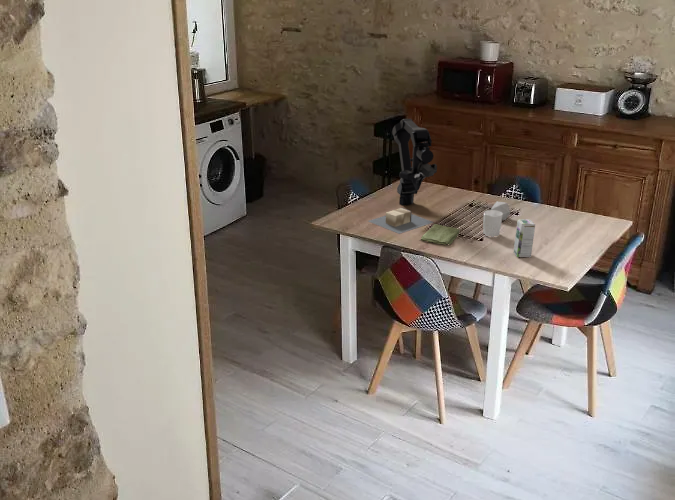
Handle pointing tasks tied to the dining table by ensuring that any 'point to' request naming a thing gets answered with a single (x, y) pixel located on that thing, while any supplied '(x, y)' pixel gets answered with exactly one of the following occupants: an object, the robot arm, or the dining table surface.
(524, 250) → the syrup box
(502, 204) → the die
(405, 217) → the maple block
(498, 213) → the white cup
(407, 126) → the robot arm
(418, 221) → the rubber pad
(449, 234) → the washcloth
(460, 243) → the dining table surface
